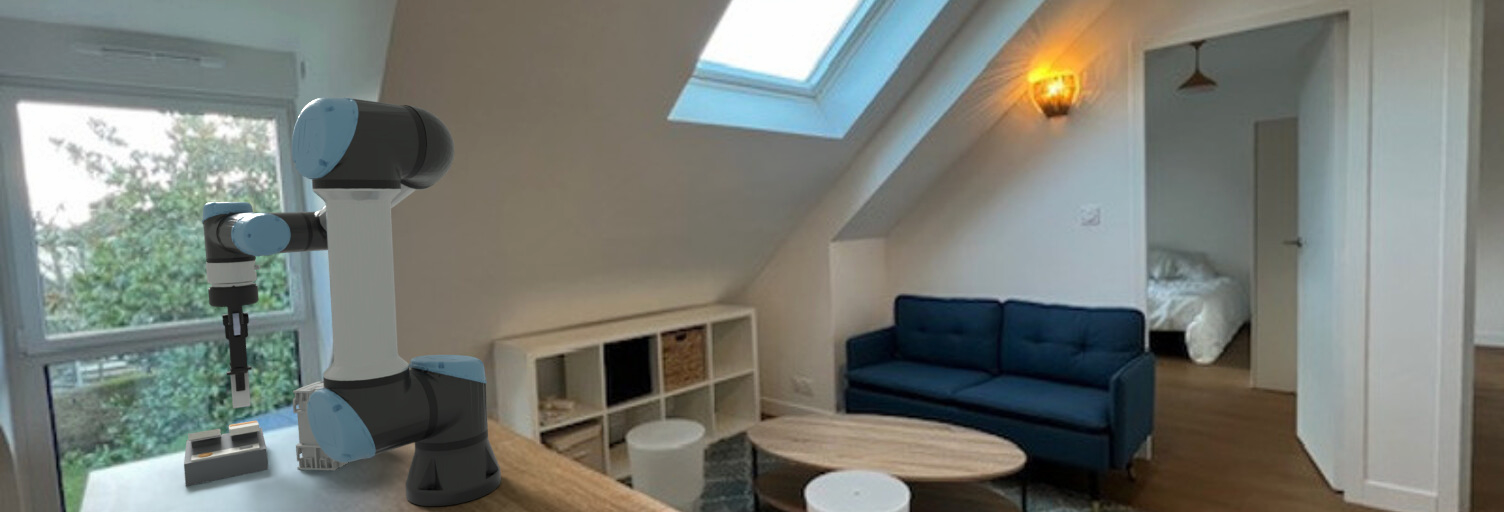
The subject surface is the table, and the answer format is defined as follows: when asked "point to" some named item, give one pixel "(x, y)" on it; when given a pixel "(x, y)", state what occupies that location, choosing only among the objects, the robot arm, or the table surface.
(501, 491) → the table surface
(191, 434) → the rocker left
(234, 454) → the switch unit
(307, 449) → the circuit breaker
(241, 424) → the rocker right
